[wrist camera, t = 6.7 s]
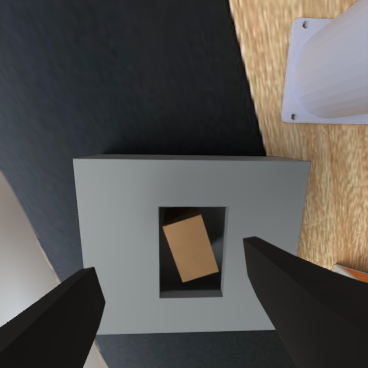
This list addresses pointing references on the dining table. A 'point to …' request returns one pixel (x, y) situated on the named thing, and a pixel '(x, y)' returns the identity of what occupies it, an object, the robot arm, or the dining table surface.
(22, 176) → the dining table surface
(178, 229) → the brown wooden block
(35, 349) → the robot arm
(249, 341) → the dining table surface
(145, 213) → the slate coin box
